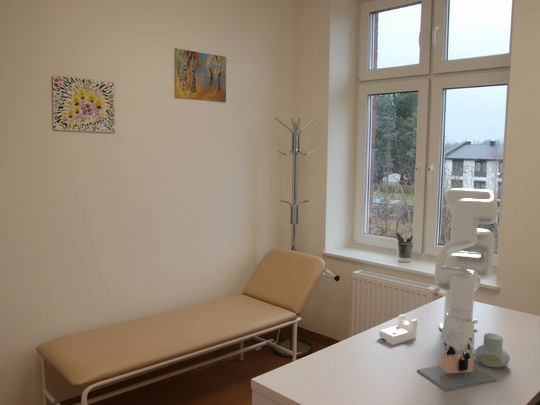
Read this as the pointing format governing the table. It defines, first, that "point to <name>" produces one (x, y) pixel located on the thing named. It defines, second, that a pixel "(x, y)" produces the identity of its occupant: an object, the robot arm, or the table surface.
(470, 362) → the card box
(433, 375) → the mat
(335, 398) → the table surface
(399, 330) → the bracket
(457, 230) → the robot arm
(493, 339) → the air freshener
